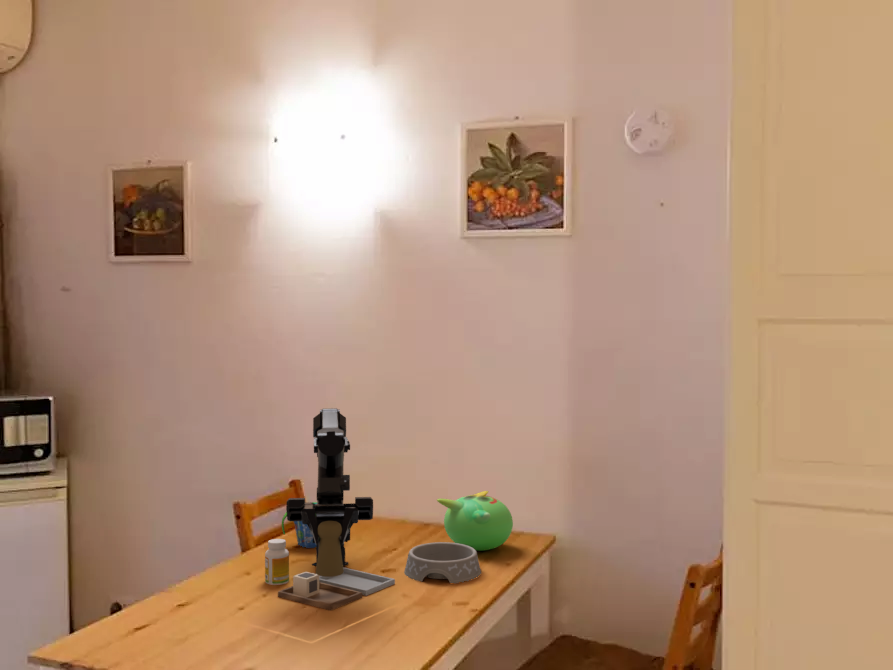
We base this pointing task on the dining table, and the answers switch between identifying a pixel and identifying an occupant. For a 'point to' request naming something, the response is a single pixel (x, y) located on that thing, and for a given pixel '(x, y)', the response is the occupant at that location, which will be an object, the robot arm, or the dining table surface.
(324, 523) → the brown rounded upright piece
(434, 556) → the dog bowl
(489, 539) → the green creature toy
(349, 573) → the grey tray
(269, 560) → the supplement bottle
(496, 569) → the dining table surface
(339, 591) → the walnut tray
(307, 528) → the snack cup
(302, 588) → the beige and grey cube
